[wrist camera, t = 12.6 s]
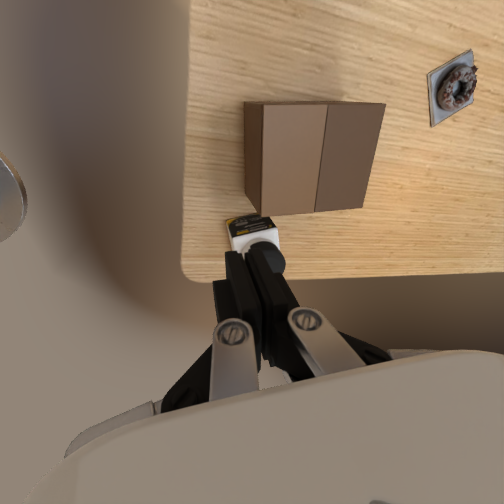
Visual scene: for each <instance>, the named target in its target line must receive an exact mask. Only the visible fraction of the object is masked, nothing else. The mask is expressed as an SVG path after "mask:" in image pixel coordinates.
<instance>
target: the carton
mask: <svg viewBox="0 0 504 504" xmlns="http://www.w3.org/2000/svg"><path fill="white" fill-rule="evenodd" d="M307 104H327V105H328V107H327V115H326V123H325V130H324V138H323V146H322V153H321V161H320V168H319V176H318V184H317V191H316V199H315V207H314V212H323V211H334V210H345V209H355V208H362V207H363V202H364V198H365V194H366V189H367V185H368V181H369V176H370V172H371V168H372V163H373V159H374V155H375V150H376V146H377V142H378V137H379V133H380V129H381V124H382V120H383V116H384V111H385V107H386V104H382V103H367V102H347V101H296V102H244V157H245V194H246V195H247V197H248V198H249V200H250V201H251V203H252V205H253V206H254V208H255V209H256V211H257V212H258V214H259V215H261V178H262V128H263V105H307Z"/></svg>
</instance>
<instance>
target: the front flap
mask: <svg viewBox="0 0 504 504" xmlns="http://www.w3.org/2000/svg"><path fill="white" fill-rule="evenodd" d="M327 107H328V105H327V104H307V105H263V128H262V178H261V217H270V216H282V215H294V214H306V213H314V207H315V199H316V191H317V184H318V176H319V168H320V161H321V153H322V146H323V138H324V130H325V123H326V115H327Z"/></svg>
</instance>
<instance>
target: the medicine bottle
mask: <svg viewBox="0 0 504 504" xmlns="http://www.w3.org/2000/svg"><path fill="white" fill-rule="evenodd" d="M226 225H227V229H228V234H229V238H230V243H231V247H232V251H237V252H238V253H242V255H243V258H244V253H245V252H248V249H253V248H261V250H262V252H263V254H264V256H265V258H266V260H267V262H268V264H269V265H270V267H271V269H272V271H273V273H275V272H281V274H283V272H284V270H285V265H286V263H285V259H284V257H283V255H282V253H281V252H280V247H279V237H278V229H277V227H276V226H275V224H274V223H273V222H272V220H271V219H270V217H261V215H259V214H258V213H255V214H251V215H247V216H243V217H238V218H234V219H230V220H227V221H226Z"/></svg>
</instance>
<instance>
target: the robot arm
mask: <svg viewBox="0 0 504 504" xmlns="http://www.w3.org/2000/svg"><path fill="white" fill-rule="evenodd" d="M225 264H226V279H224V280H217V281H213V292H214V300H215V308H216V315H217V321H218V324H217V326H216V327H215V329H214V332H213V343H212V344H211V345H210V347H209V348H208V349H207V350H206V351H205V352H204V353H203V354H202V355H201V356H200V357H199V358H198V360H197V361H196V362H195V363H194V364H193V365H192V366H191V367H190V368H189V369H188V370H187V371H186V373H185V374H184V375H183V376H182V377H181V378H180V379H179V380H178V381H177V382H176V383H175V385H174V386H173V387H172V388H171V389H170V390H169V391H168V392H167V394H166V395H165V397H164V398H163V399H162V400H160V401H157V402H155V403H153V402H152V401H149V402H147V403H145V404H143V405H140V406H138V407H135V408H133V409H131V410H129V411H126V412H124V413H122V414H120V415H117V416H115V417H113V418H110V419H108V420H106V421H104V422H101V423H99V424H97V425H95V426H92V427H90V428H88V429H86V430H85V431H83V432H81V433H80V434H79V435H78V436H77V437H76V438H75V439H74V440H73V441H72V442H71V444H70V445H69V447H68V449H67V450H66V453H65V456H64V459H63V460H62V461H61V462H60V463H58V464H57V465H56V466H54V467H53V468H52V469H51V470H50V471H49V472H48V473H47V474H45V475H44V476H43V477H42V478H41V480H40V481H39V482H38V483H37V484H36V485H35V486H34V488H33V489H32V490H31V492H30V493H29V494H28V496H27V497H26V499H25V500H24V502H23V504H504V355H501V354H496V353H492V352H485V351H478V350H451V351H438V350H401V349H400V350H399V349H388V351H387V352H385V351H383V350H381V349H380V348H378V347H376V346H373V345H371V344H368V343H366V342H364V341H361V340H359V339H356V338H354V337H351V336H349V335H347V334H344V333H342V332H339V331H337V330H336V329H335V328H334V327H333V326H332V325H331V324H330V322H329V321H328V320H327V319H326V318H325V317H324V316H323V314H322V313H320V312H319V311H318V310H316V309H314V308H311V307H303V306H302V307H300V305H299V304H298V302H297V300H296V298H295V296H294V295H293V293H292V291H291V289H290V288H289V286H288V284H287V282H286V280H285V279H284V277H283V275H282V274H281V272H275V273H273V271H272V269H271V267H270V265H269V264H268V262H267V260H266V258H265V256H264V254H263V252H262V250H261V248H253V249H248V252H245V253H244V258H243V255H242V253H238V252H237V251H228V252H225ZM261 353H262V356H263V359H264V360H268V361H269V364H270V367H274V366H276V367H278V368H280V369H282V370H283V375H284V378H285V380H286V382H287V383H288V384H284V385H280V386H276V387H271V388H267V389H262V390H259V382H258V373H259V371H260V368H261Z"/></svg>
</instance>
